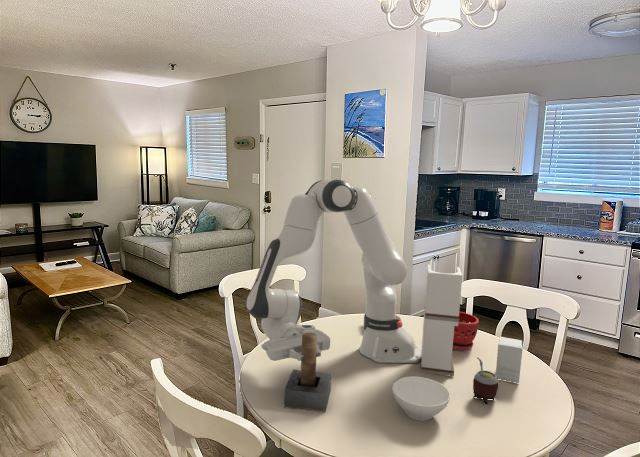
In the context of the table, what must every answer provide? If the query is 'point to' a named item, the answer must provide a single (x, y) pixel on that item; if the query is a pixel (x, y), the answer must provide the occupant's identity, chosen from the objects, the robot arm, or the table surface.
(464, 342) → the plant pot
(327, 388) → the socket block
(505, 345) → the supplement box
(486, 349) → the table surface
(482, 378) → the mate gourd
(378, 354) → the robot arm
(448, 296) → the striped white pillar
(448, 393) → the bowl
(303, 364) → the walnut pin
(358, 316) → the table surface
